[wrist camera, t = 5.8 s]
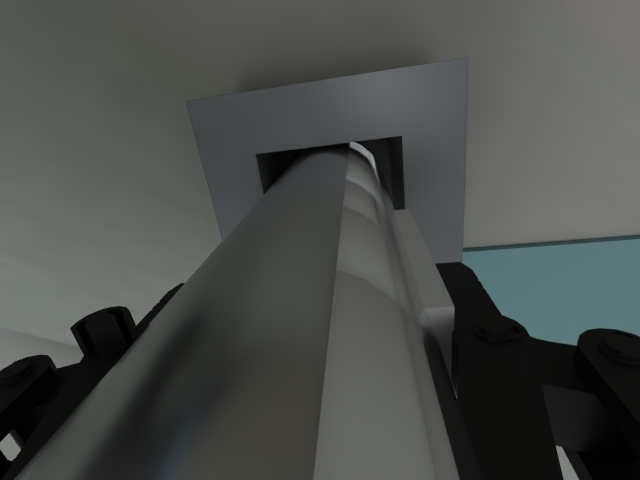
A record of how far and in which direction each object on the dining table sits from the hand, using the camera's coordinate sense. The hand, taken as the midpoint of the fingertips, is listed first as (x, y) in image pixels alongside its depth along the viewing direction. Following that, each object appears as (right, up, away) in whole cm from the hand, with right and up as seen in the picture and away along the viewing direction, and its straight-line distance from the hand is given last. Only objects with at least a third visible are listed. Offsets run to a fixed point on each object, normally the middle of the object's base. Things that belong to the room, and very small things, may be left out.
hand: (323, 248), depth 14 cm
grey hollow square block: (+2, +5, +12) cm, 13 cm away
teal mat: (+19, -7, +15) cm, 25 cm away
